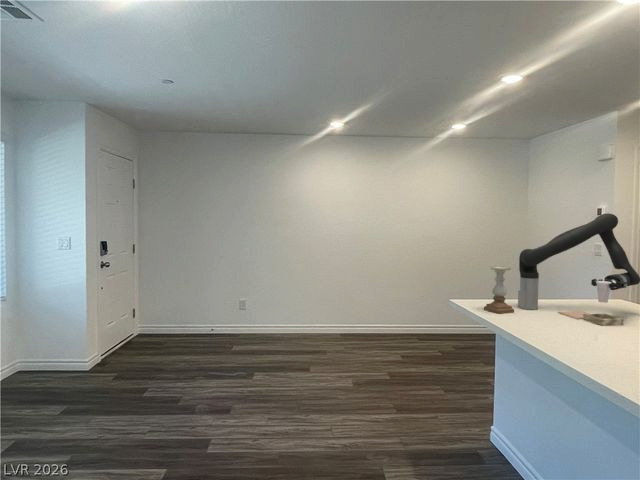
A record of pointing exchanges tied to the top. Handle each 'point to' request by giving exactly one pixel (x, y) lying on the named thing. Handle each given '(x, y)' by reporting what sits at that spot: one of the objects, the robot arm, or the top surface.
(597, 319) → the square wooden tray
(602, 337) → the top surface
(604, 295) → the smoothie
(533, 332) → the top surface
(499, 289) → the candle holder
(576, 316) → the tile
